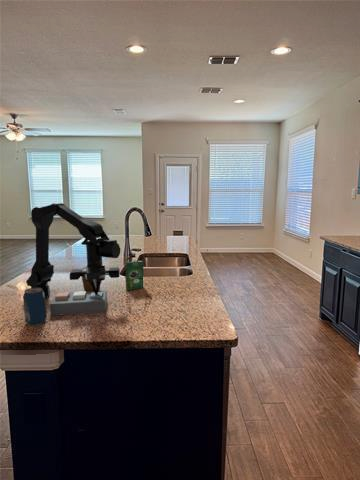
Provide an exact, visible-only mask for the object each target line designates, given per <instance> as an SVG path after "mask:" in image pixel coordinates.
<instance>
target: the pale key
mask: <svg viewBox="0 0 360 480" xmlns="http://www.w3.org/2000/svg"><path fill="white" fill-rule="evenodd" d="M74 299H86V291H74V294H73V300H74Z"/></svg>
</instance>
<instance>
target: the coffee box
mask: <svg viewBox="0 0 360 480" xmlns="http://www.w3.org/2000/svg"><path fill="white" fill-rule="evenodd" d="M144 286H145V285H144V261H143V260H135V261H125V288H126V289H125V290H127V291H132V290H137V289H144Z"/></svg>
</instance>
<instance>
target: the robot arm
mask: <svg viewBox="0 0 360 480" xmlns="http://www.w3.org/2000/svg"><path fill="white" fill-rule="evenodd" d="M30 216H31V222H32V224H33V226H34V227H35V262H34V263H33V265H32V267H31V271H30V276H29V277H28V278H27V280H26V282H25V283H26V286H28V287H30V288H36V287H39V288H42V289H43V291H44V293H45V300H46V299H48V298H49V296H50V295H51V290H50V285H49V282H51V281H52V278H53V275H54V274H55V271H54V268H55V265H54V264H52V263H50V262H51V261H50V260H49V254H50V253H49V252H50V251H49V250H50V248H49V247H50V246H49V245H50V227H51V226H52V223H53V222H54V217H55V216H58V217H60V218H61V219H63V220H64V221H65V222H67V223H68V224H70V225H72V226H73V227H75V228H76V229H77V230H78V233H79V234H80V236H82V237H83V238H84V240H83V241H82V242H81V244H80V245H83V246H86V247H85V249H86V266H85V267H86V271H83V272H82V269H81V268H78V269H77V268H76V269H75V268H74V269H72V270H71V271H70V273H69V281H75V280H76V281H77V280H79V279H81V277H82V276H85V277H86V279H85V281H88V282H89V283H90V284H91V286H92V288H93V290H94V293H95V295H96V294H98V290H99V287H100V288H101V284H102V282H103V281H104V280H106V276H108V277H110V279H115V278H117V279H119V278H120V275H121V274H120V273H121V272H120V268H119V267H118V266H117V267H109V268H108V270H106V266H105V265H103V258H108V259H109V258H110V259H118V258H119V256H120V255H121V247H120V244H119V243H118V241H117V239H112V240H111V239H110V238H109V236H108V235H107V233H106V232H105V230H104V229H103V228H104V227H103V225H102V224H100V223H98V222H96V221H93V220H89V219H86V218H85V217H83V216H82V215H80V214H78V213H77V212H75V211H73V209H71V208H69V207H68V206H66V204H65V203H64V202H63V203H62V202H54V203H52V204H49V205H46V206H35V207H33V208H32V209H31V211H30ZM95 279H96V280H97V287H96V283H95Z"/></svg>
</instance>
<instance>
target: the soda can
mask: <svg viewBox="0 0 360 480" xmlns="http://www.w3.org/2000/svg"><path fill="white" fill-rule="evenodd" d="M22 297H23V309H24V319H25V320H24V321H25V323H27V324H28V325H29V326H39V325H41V323H42V324H44V323H45V322H46V320H47V315H48V313H47V305H46V299H45V293H44V291H43V289H42V288H39V287H36V288H31V287H30V288H27V289H25V290H24V293H23V295H22ZM43 322H44V323H43ZM38 324H39V325H38Z"/></svg>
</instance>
